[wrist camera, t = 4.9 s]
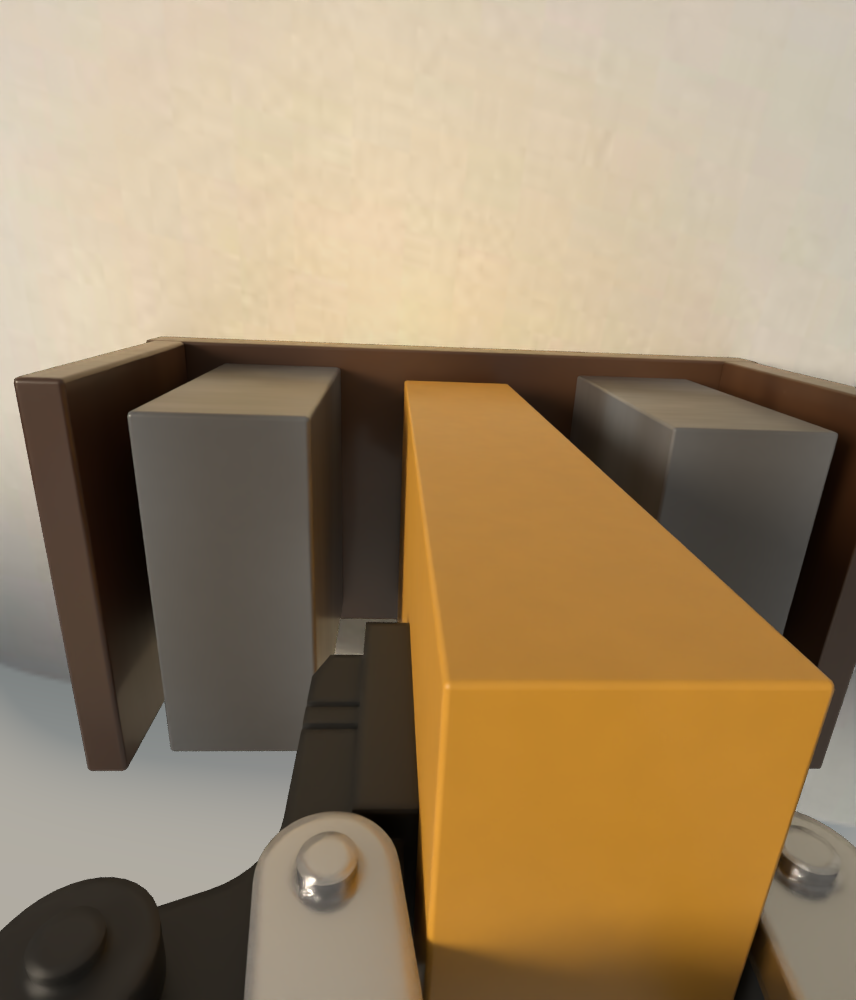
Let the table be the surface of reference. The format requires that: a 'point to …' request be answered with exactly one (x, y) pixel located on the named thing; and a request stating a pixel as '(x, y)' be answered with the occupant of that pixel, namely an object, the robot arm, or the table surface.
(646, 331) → the table surface
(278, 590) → the brown book rack
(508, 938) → the ochre book
